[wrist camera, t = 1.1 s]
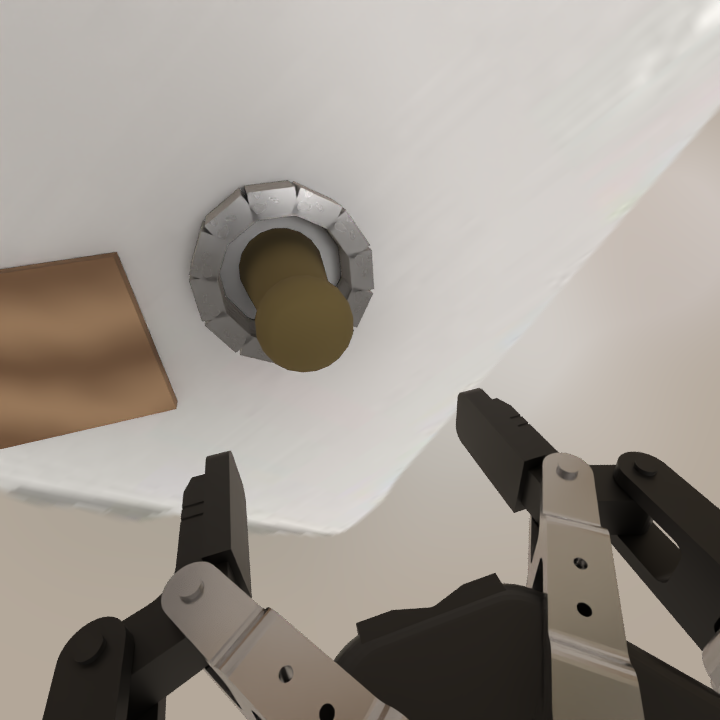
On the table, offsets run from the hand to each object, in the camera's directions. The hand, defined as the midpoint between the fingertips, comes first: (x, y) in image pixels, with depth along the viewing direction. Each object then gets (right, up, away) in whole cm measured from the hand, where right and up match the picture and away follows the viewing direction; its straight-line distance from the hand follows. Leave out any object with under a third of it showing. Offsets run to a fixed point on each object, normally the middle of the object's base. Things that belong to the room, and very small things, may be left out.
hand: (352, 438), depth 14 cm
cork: (-5, +9, +15) cm, 19 cm away
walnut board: (-20, +3, +13) cm, 25 cm away
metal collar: (-5, +9, +15) cm, 19 cm away
